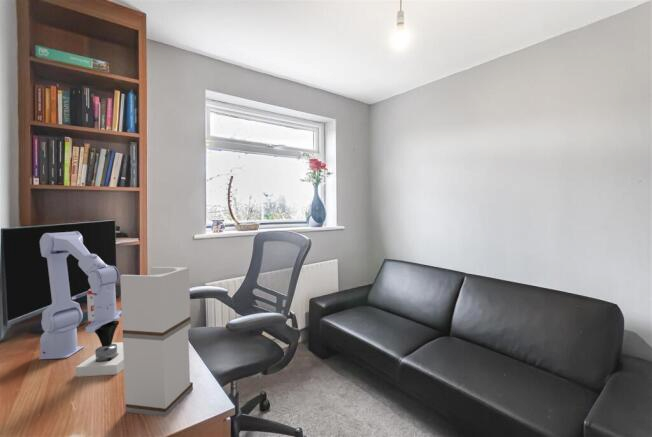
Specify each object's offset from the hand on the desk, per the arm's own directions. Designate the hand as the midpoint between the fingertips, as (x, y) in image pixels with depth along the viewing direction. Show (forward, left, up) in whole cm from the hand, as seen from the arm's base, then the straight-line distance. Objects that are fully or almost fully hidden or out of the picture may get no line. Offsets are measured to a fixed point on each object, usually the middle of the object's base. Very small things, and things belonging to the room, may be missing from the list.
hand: (106, 345), depth 93 cm
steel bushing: (0, 0, -7) cm, 7 cm away
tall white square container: (+26, -19, -7) cm, 33 cm away
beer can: (-30, +39, -7) cm, 50 cm away
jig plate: (0, +3, -7) cm, 8 cm away
